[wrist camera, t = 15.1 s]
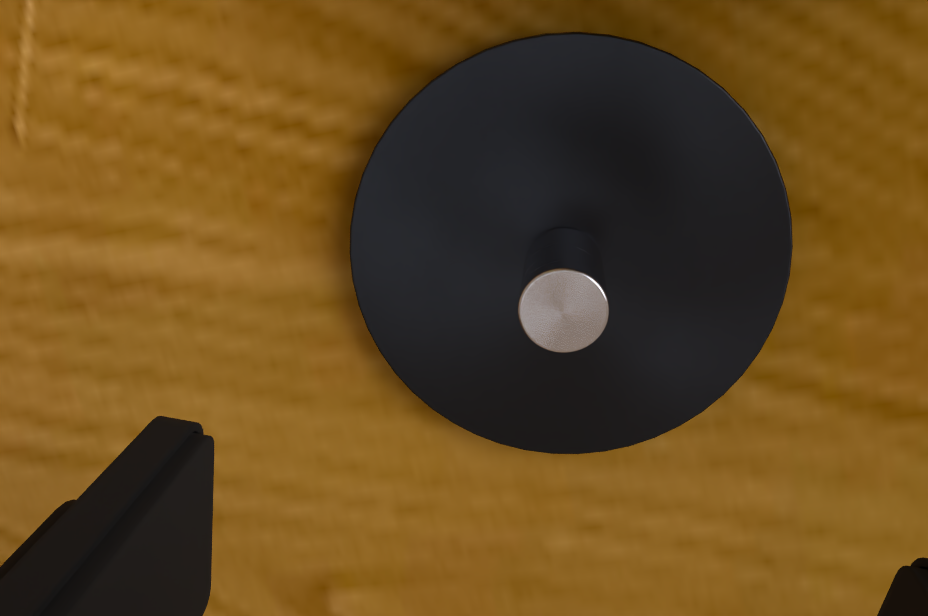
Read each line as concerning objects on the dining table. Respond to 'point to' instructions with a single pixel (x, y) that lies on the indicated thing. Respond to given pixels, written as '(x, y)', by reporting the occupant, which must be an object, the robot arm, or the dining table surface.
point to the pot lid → (571, 243)
